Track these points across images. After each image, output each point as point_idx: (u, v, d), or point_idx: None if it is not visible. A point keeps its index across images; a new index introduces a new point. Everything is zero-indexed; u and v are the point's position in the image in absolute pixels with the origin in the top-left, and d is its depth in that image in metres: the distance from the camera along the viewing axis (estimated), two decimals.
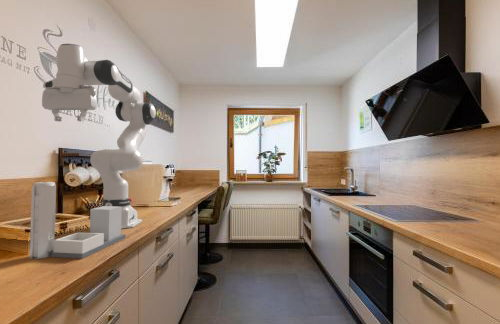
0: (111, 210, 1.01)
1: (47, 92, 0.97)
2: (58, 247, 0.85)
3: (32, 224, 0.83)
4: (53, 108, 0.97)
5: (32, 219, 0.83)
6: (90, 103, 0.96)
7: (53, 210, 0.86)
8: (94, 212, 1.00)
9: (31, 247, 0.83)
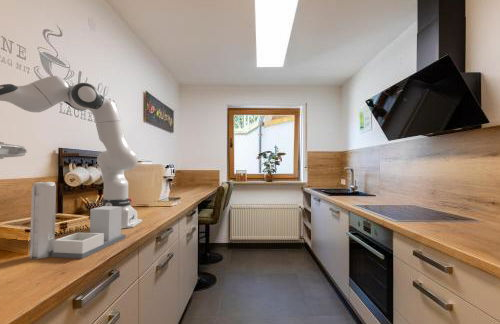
0: (111, 210, 1.01)
1: (5, 156, 0.95)
2: (58, 247, 0.85)
3: (32, 224, 0.83)
4: (15, 154, 0.93)
5: (32, 219, 0.83)
6: None
7: (53, 210, 0.86)
8: (94, 212, 1.00)
9: (31, 247, 0.83)
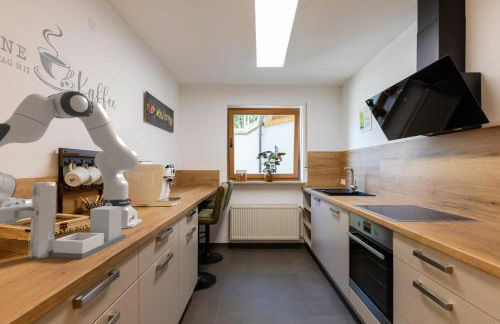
0: (111, 210, 1.01)
1: None
2: (58, 247, 0.85)
3: (32, 224, 0.83)
4: None
5: (32, 219, 0.83)
6: None
7: (53, 210, 0.86)
8: (94, 212, 1.00)
9: (31, 247, 0.83)
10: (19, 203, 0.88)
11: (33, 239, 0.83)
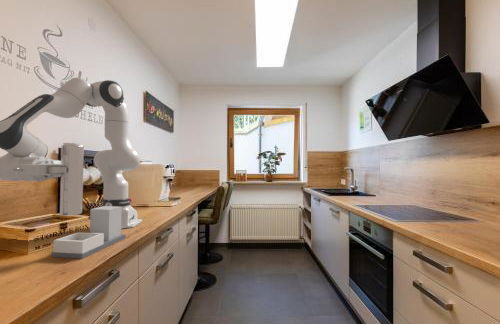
0: (111, 210, 1.01)
1: None
2: (58, 247, 0.85)
3: (62, 182, 0.87)
4: None
5: (62, 177, 0.87)
6: (31, 175, 0.80)
7: (81, 170, 0.90)
8: (94, 212, 1.00)
9: (61, 204, 0.87)
10: (48, 162, 0.91)
11: (63, 197, 0.87)
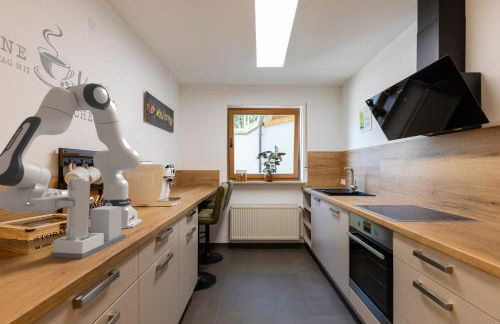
0: (111, 210, 1.01)
1: None
2: (58, 247, 0.85)
3: (68, 218, 0.86)
4: None
5: (68, 213, 0.86)
6: (41, 210, 0.81)
7: (87, 205, 0.89)
8: (94, 212, 1.00)
9: None
10: (57, 194, 0.92)
11: (69, 232, 0.86)
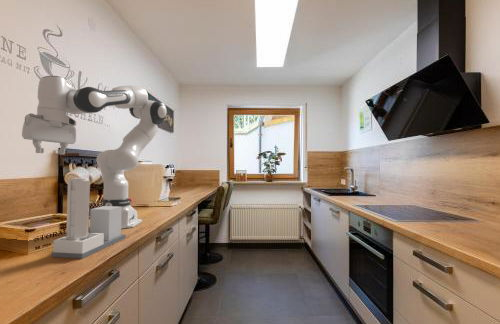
0: (111, 210, 1.01)
1: None
2: (58, 247, 0.85)
3: (68, 218, 0.86)
4: None
5: (68, 213, 0.86)
6: (22, 133, 0.88)
7: (87, 205, 0.89)
8: (94, 212, 1.00)
9: None
10: (59, 126, 0.98)
11: (69, 232, 0.86)
